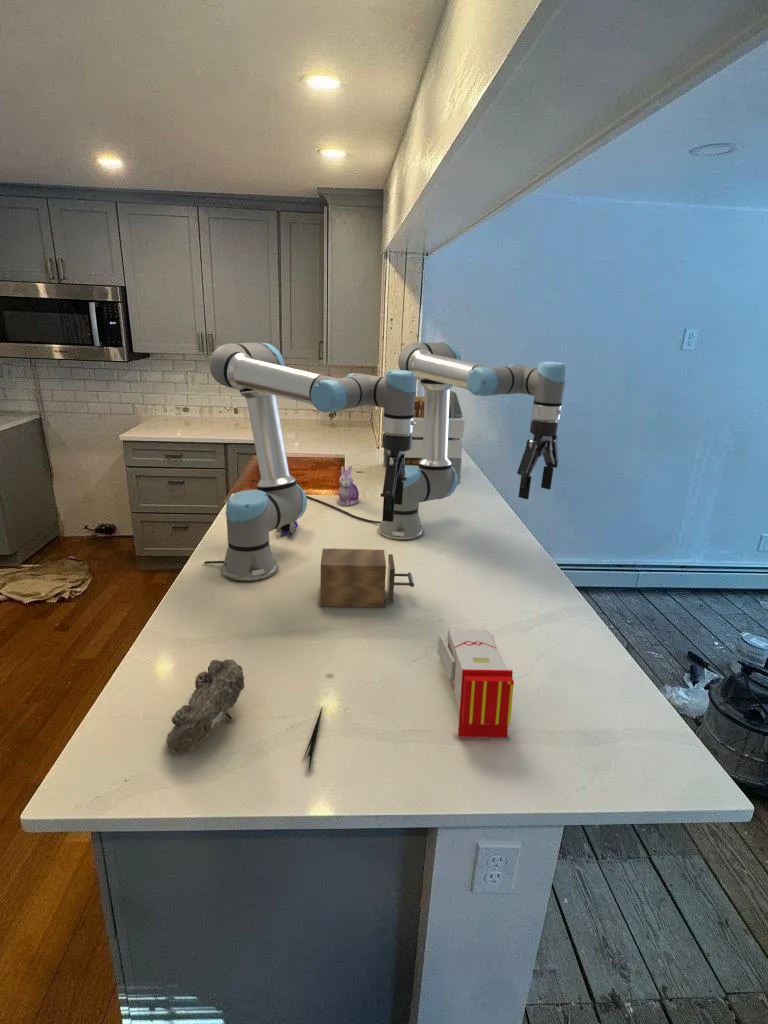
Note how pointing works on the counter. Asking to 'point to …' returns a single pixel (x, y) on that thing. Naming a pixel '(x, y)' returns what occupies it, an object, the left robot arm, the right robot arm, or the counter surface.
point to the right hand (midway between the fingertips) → (534, 493)
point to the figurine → (347, 488)
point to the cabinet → (352, 578)
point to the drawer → (391, 576)
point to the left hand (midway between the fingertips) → (392, 512)
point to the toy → (478, 682)
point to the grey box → (453, 435)
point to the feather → (313, 740)
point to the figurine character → (288, 528)
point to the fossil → (206, 705)
